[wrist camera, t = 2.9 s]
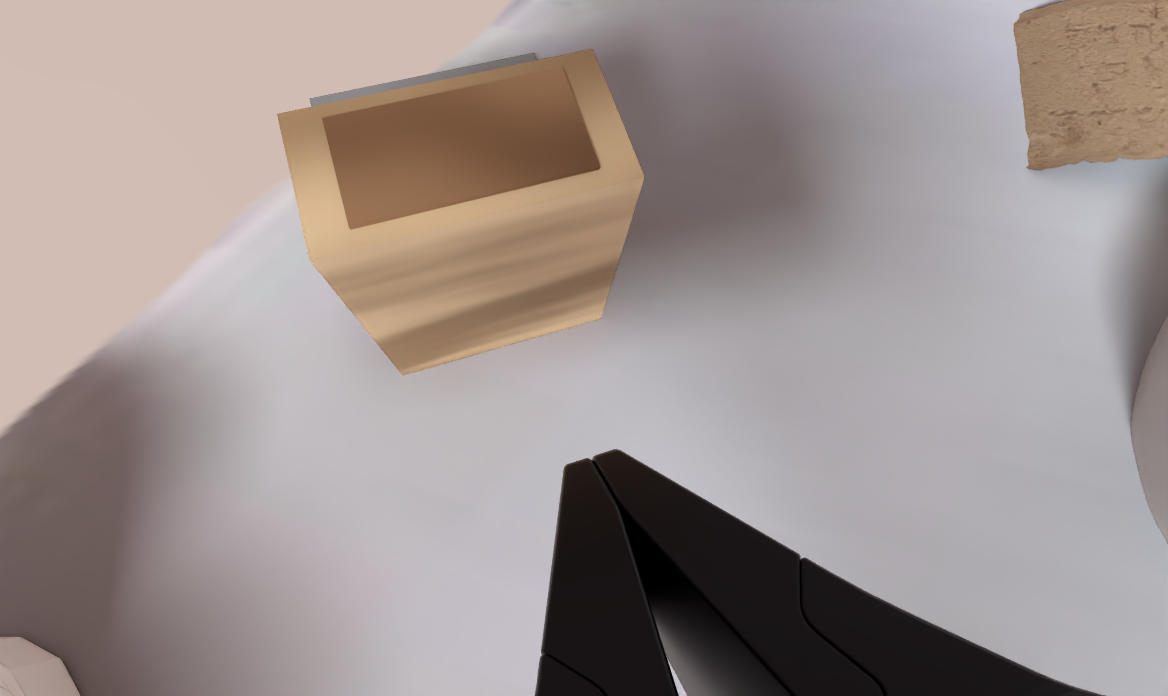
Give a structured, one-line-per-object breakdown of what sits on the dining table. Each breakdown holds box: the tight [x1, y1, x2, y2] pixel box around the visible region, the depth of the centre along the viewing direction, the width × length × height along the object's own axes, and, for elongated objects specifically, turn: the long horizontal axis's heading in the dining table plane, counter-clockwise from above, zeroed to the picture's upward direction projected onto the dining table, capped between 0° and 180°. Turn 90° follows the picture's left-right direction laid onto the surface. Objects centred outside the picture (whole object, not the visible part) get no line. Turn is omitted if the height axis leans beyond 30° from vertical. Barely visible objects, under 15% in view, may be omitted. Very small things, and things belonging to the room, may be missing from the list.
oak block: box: [277, 49, 645, 375], centre depth 19 cm, size 4×8×10 cm, turn 108°
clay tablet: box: [1014, 0, 1168, 170], centre depth 29 cm, size 14×10×3 cm
